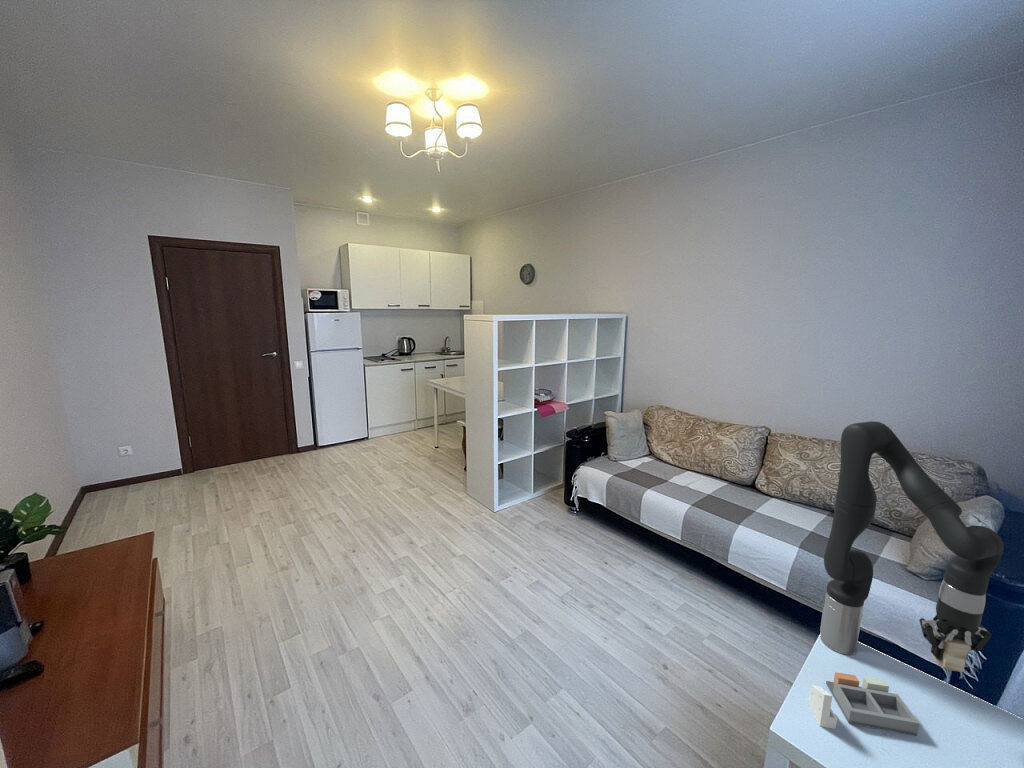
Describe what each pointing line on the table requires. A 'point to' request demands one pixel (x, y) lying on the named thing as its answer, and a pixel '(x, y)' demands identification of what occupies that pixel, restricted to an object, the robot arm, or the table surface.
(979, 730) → the table surface
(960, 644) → the tan rectangular block
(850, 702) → the socket block
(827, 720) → the white angled block
